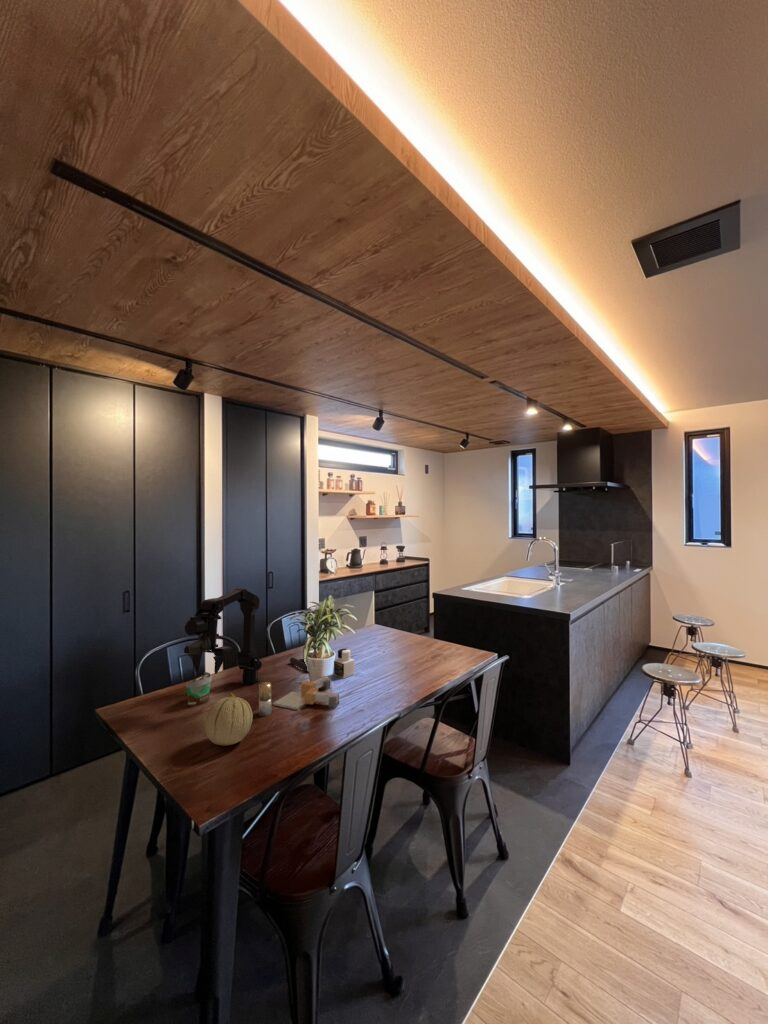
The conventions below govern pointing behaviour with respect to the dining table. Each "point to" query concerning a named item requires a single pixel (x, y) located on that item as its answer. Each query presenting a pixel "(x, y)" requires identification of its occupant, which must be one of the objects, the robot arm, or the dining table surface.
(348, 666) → the medicine bottle
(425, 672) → the dining table surface
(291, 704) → the stand
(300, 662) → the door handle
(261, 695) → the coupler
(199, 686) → the food container
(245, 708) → the cantaloupe
